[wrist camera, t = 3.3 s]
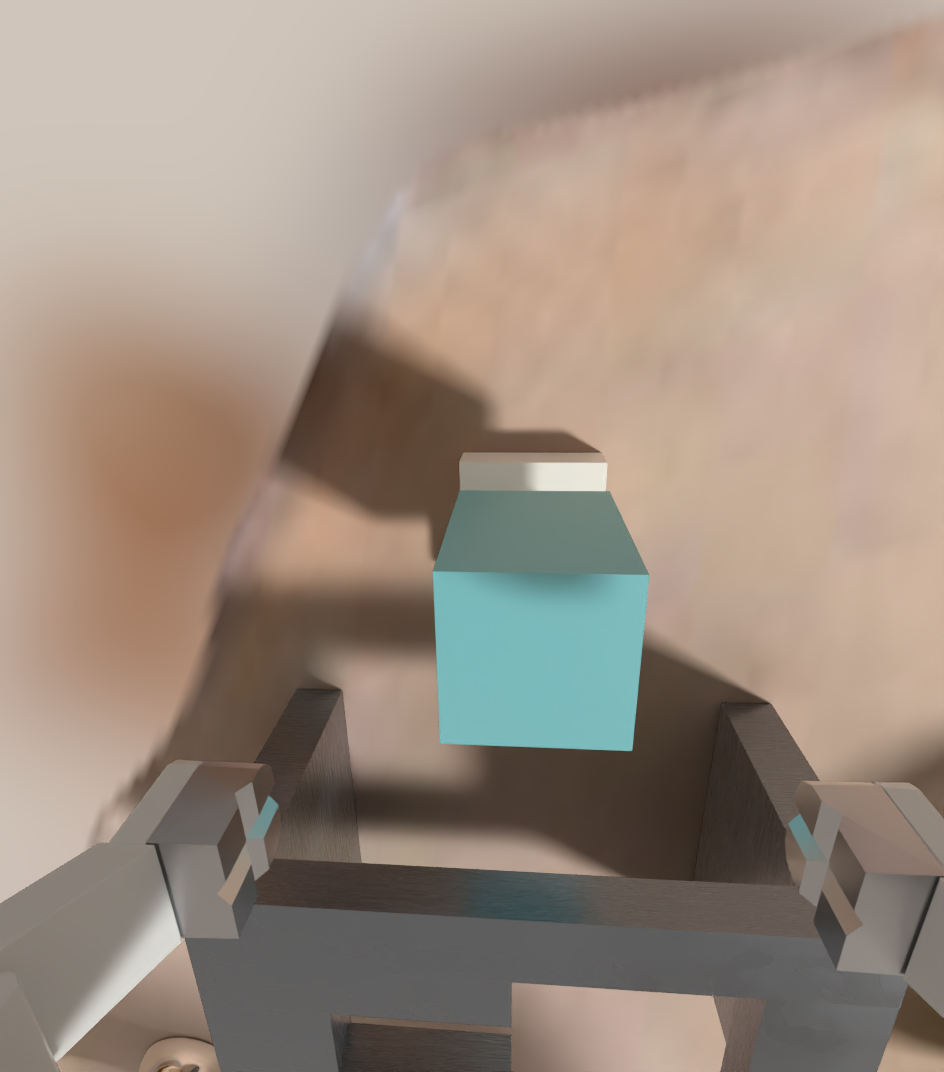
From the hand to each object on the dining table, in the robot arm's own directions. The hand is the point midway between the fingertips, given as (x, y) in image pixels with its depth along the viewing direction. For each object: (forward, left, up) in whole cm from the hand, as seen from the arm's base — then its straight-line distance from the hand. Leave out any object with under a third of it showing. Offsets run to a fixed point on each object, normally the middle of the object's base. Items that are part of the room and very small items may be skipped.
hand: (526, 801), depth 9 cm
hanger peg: (0, 0, -14) cm, 14 cm away
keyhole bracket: (0, +14, -14) cm, 20 cm away
